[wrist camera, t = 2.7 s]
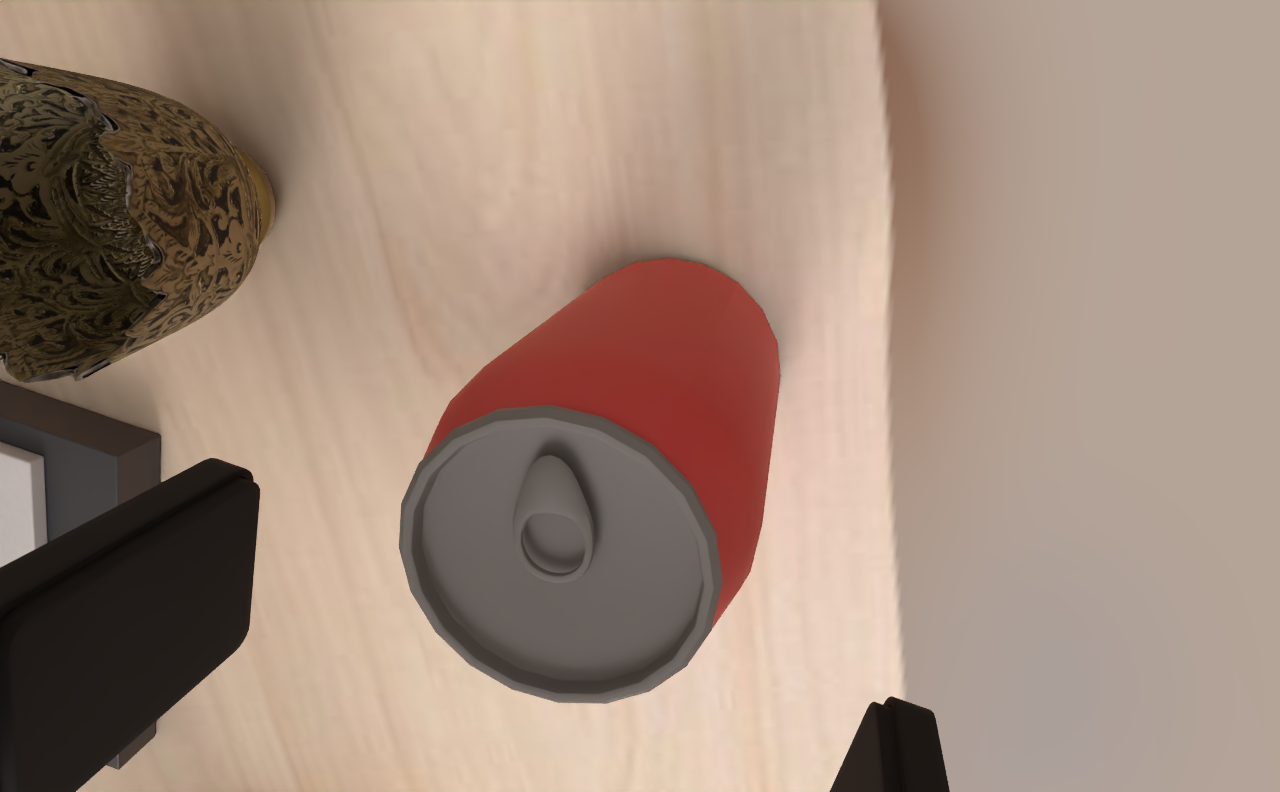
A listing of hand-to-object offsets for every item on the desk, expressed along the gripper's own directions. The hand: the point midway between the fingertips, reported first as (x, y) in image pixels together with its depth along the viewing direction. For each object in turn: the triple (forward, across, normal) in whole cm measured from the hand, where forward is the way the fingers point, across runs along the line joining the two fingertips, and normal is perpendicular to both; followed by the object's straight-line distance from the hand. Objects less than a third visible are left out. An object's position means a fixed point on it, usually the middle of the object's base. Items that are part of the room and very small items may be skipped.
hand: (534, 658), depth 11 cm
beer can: (+14, +1, 0) cm, 14 cm away
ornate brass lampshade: (+14, +16, -1) cm, 21 cm away
